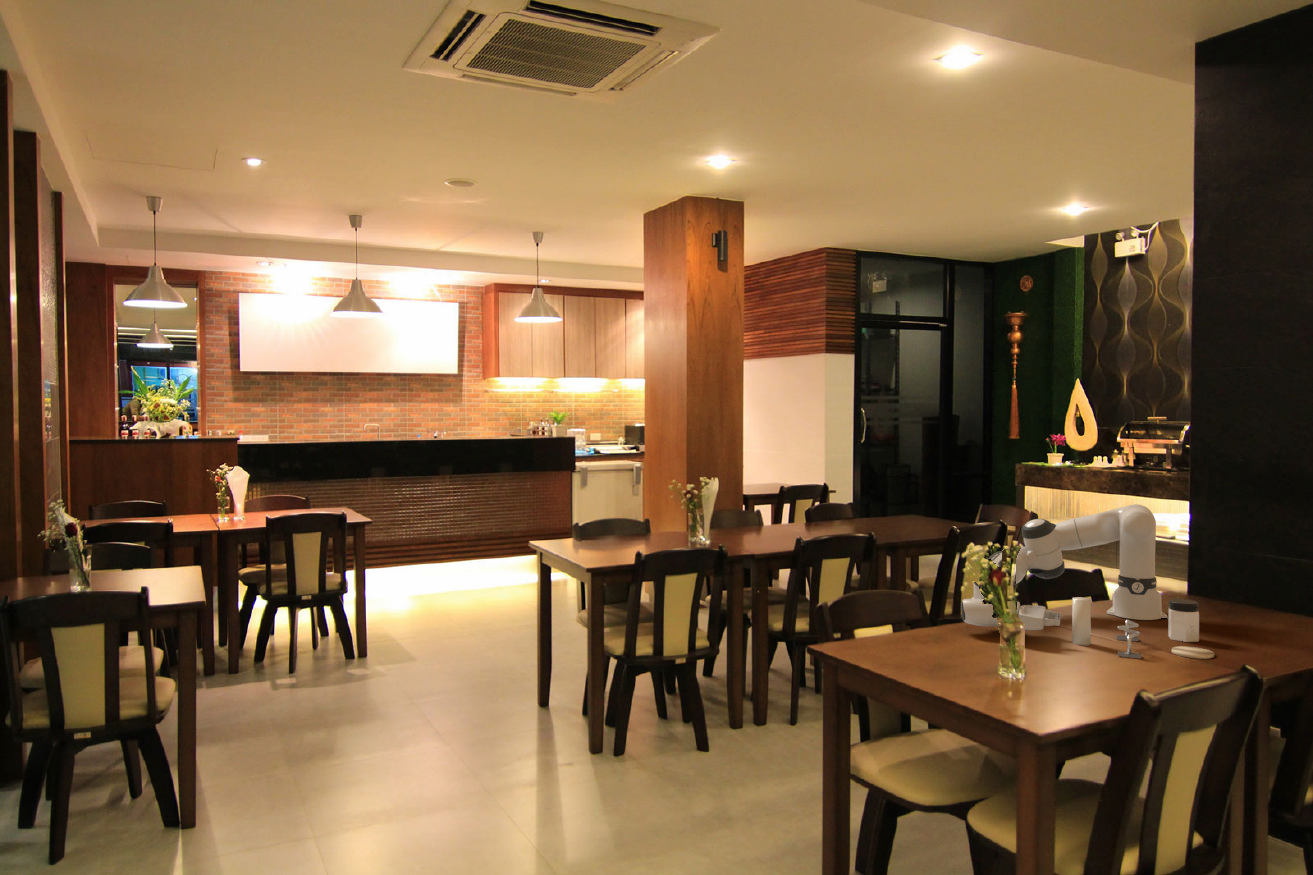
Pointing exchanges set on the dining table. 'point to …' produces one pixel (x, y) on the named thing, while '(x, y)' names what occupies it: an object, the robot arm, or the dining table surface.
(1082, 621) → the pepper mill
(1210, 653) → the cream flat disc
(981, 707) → the dining table surface
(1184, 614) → the jar
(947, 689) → the dining table surface
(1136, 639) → the coil spring stand
